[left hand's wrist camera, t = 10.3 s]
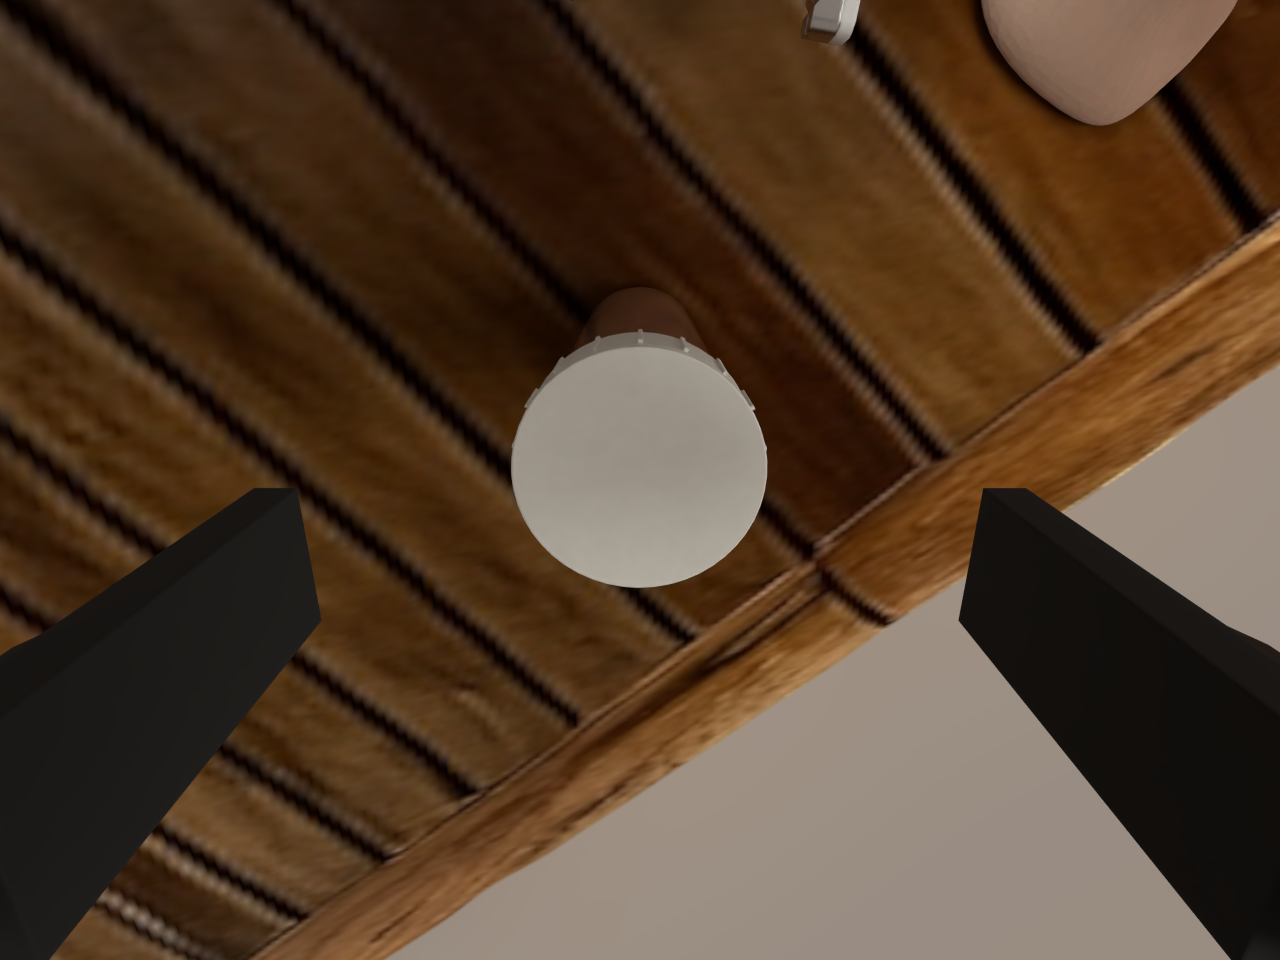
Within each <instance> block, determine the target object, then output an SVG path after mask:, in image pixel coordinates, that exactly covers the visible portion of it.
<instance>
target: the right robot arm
mask: <svg viewBox="0 0 1280 960" xmlns="http://www.w3.org/2000/svg"><path fill="white" fill-rule="evenodd" d="M573 1H574V0H573ZM859 4H860V0H807V1H806V7H807V10H808V14H807V15H806V17H805V18H804V19H803V22H802V27H801V36H800V37H801V38H802V39H807V40H812V41H818V42H823V43H828V44H833V45H842V44H843V43H845V42H846V41H847V40H848V39H849V38H850V36H851V33H852V31H853V28H854V25H855V22H856V18H857V13H858V8H859Z"/></svg>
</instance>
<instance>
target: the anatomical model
mask: <svg viewBox="0 0 1280 960" xmlns="http://www.w3.org/2000/svg"><path fill="white" fill-rule="evenodd" d="M1236 2H1237V0H981V3H982V9H983V14H984V19H985V21H986V24H987V27H988V30H989V33H990V35H991V37H992V39H993V41H994V42H995V44H996V46H997V48H998V49H999V51H1000V52H1001V54H1002V55H1003V57H1004V58H1005V60H1006V61H1007V63H1008V64H1009V65H1010V66H1011V67H1012V69H1013V70H1014V71H1015V72H1016V73H1017V74H1018V75H1019V76H1020V77H1021V79H1022V80H1023V81H1025V82H1026V83H1027V84H1028V85H1029V86H1030V87H1031V88H1032V89H1033V90H1035V91H1036V92H1037V93H1038V94H1039V95H1040V96H1041V97H1043V98H1044V99H1045V100H1047V101H1048V102H1049V103H1051V104H1052V105H1053V106H1055V107H1056V108H1057V109H1059V110H1060V111H1062V112H1064V113H1065V114H1067V115H1069V116H1070V117H1072V118H1074V119H1076V120H1079V121H1081V122H1083V123H1087V124H1091V125H1101V126H1102V125H1108V124H1112V123H1115V122H1117V121H1119V120H1121V119H1123V118H1125V117H1127V116H1128V115H1130V114H1132V113H1133V112H1134V111H1136V110H1137V109H1138V108H1139V107H1141V106H1142V105H1143V104H1145V103H1146V102H1147V101H1148V100H1150V99H1151V98H1152V97H1153V96H1154V95H1155V94H1156V93H1157V92H1158V91H1159V90H1160V89H1161V88H1162V87H1164V86H1165V85H1166V84H1167V83H1168V82H1169V81H1170V80H1171V79H1172V78H1173V77H1174V76H1175V75H1177V74H1178V73H1179V72H1180V71H1181V70H1182V69H1183V68H1184V67H1185V66H1186V65H1187V64H1188V63H1189V62H1190V61H1191V60H1192V59H1193V58H1194V57H1195V55H1196V54H1197V53H1198V52H1199V51H1200V50H1201V49H1202V48H1203V46H1204V45H1205V44H1206V43H1207V42H1208V40H1209V39H1210V38H1211V37H1212V36H1213V34H1214V33H1215V32H1216V31H1217V30H1218V28H1219V27H1220V26H1221V25H1222V23H1223V22H1224V21H1225V19H1226V18H1227V17H1228V15H1229V14H1230V12H1231V11H1232V9H1233V8H1234V6H1235V4H1236Z"/></svg>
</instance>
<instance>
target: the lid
mask: <svg viewBox="0 0 1280 960" xmlns="http://www.w3.org/2000/svg"><path fill="white" fill-rule="evenodd" d="M524 407H525V408H527V410H526V411H525V413H524V415H523V418H522V420H521V422H520V424H519V426H518V430H517V433H516V436H515V440H514V442H513V444H512V448H513V451H512V457H511V475H512V483H513V490H514V494H515V497H516V501H517V504H518V507H519V509H520V512H521V514H522V516H523V519H524V520H525V522H526V524H527V525H528V527H529V529H530V530H531V532H532V533H533V535H534V536H535V537H536V538H537V540H538V541H539V542H540V544H541V545H542V546H543V547H544V548H545V549H546V550H547V551H548V552H549V553H550V554H551V555H552V556H554V557H555V558H556V559H558V560H559V561H560V562H561V563H563V564H564V565H566V566H567V567H569V568H571V569H572V570H574V571H576V572H577V573H579V574H582V575H584V576H586V577H589V578H591V579H593V580H597V581H600V582H603V583H606V584H611V585H617V586H622V587H637V588H639V587H655V586H661V585H667V584H672V583H675V582H679V581H682V580H685V579H687V578H690V577H692V576H695V575H697V574H699V573H701V572H703V571H704V570H706V569H708V568H710V567H711V566H713V565H714V564H716V563H717V562H718V561H720V560H721V559H722V558H724V557H725V556H726V555H727V554H728V553H729V552H730V551H731V550H732V549H733V548H734V547H735V546H736V545H737V544H738V543H739V541H740V540H741V539H742V538H743V537H744V535H745V534H746V533H747V531H748V529H749V528H750V526H751V524H752V523H753V521H754V519H755V517H756V515H757V512H758V510H759V508H760V505H761V502H762V498H763V495H764V492H765V485H766V478H767V456H766V450H767V447H766V445H765V442H764V439H763V435H762V432H761V428H760V426H759V424H758V421H757V419H756V417H755V415H754V413H753V411H752V410H754V409H755V408H754V406H753V404H752V402H751V401H750V399H749V398H748V396H747V394H746V393H745V391H744V390H742V391H740V389H739V388H738V386H737V385H736V383H735V381H734V380H733V378H732V377H731V376H730V375H729V374H728V372H727V371H726V369H725V367H724V365H723V364H722V362H721V360H720V359H718V358H717V359H716V360H715V359H714V358H713V357H711V356H710V355H708V354H707V353H705V352H704V351H703V350H701V349H700V348H698V347H696V346H694V345H692V344H690V343H688V342H686V340H685V338H683V337H680V339H677V338H675V337H672V336H667V335H663V334H658V333H648V332H643V330H642V329H638V332H631V333H621V334H616V335H611V336H607V337H604V338H600V336H598V337H596V338H595V341H593V342H591V343H589V344H587V345H585V346H583V347H581V348H579V349H577V350H576V351H575V352H573V353H572V354H570V355H569V356H567V357H566V358H564V357H561V358H560V359H559V361H558V363H557V364H556V366H555V368H554V369H553V371H552V372H551V373H550V374H549V375H548V376H547V378H546V379H545V381H544V382H543V384H542V385H541V387H540V388H539V389H537V388H536V389H535V390H534V392H533V393H532V395H531V396H530V398H529V400H528V401H527V403H526V404H525V406H524Z"/></svg>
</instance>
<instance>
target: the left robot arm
mask: <svg viewBox="0 0 1280 960" xmlns="http://www.w3.org/2000/svg"><path fill="white" fill-rule="evenodd" d="M320 622H321V615H320V610H319V605H318V599H317V594H316V589H315V583H314V578H313V573H312V568H311V562H310V557H309V552H308V546H307V541H306V536H305V530H304V525H303V520H302V514H301V509H300V504H299V498H298V493H297V488H254V489H252V490H251V491H249V492H248V493H246V494H245V495H244V496H242V497H241V498H239V499H238V500H236V501H235V502H233V503H232V504H230V505H229V506H228V507H226V508H225V509H223V510H222V511H220V512H219V513H217V514H216V515H214V516H213V517H211V518H210V519H209V520H207V521H206V522H204V523H203V524H201V525H200V526H198V527H197V528H195V529H194V530H192V531H191V532H190V533H188V534H187V535H185V536H184V537H182V538H181V539H179V540H178V541H176V542H175V543H173V544H172V545H171V546H169V547H168V548H166V549H165V550H163V551H162V552H160V553H159V554H157V555H156V556H154V557H153V558H152V559H150V560H149V561H147V562H146V563H144V564H143V565H141V566H140V567H138V568H137V569H135V570H134V571H133V572H131V573H130V574H128V575H127V576H125V577H124V578H122V579H121V580H119V581H118V582H116V583H115V584H114V585H112V586H111V587H109V588H108V589H106V590H105V591H103V592H102V593H100V594H99V595H97V596H96V597H95V598H93V599H92V600H90V601H89V602H87V603H86V604H84V605H83V606H81V607H80V608H79V609H77V610H76V611H74V612H73V613H71V614H70V615H68V616H67V617H65V618H64V619H62V620H61V621H60V622H58V623H57V624H55V625H54V626H52V627H51V628H49V629H48V630H46V631H45V632H43V633H42V634H41V635H39V636H37V637H35V638H32V639H30V640H28V641H26V642H24V643H21V644H19V645H17V646H15V647H13V648H11V649H10V650H8V651H7V652H5V653H4V654H2V655H1V656H0V960H49V959H50V958H51V956H52V955H53V954H54V953H55V952H56V950H57V949H58V948H59V947H60V945H61V944H62V943H63V942H64V940H65V939H66V938H67V937H68V935H69V934H70V933H71V932H72V930H73V929H74V928H75V927H76V925H77V924H78V923H79V922H80V920H81V919H82V918H83V917H84V915H85V914H86V913H87V912H88V910H89V909H90V908H91V907H92V905H93V904H94V903H95V902H96V900H97V899H98V898H99V897H100V896H101V894H102V893H103V892H104V891H105V889H106V888H107V887H108V886H109V884H110V883H111V882H112V881H113V879H114V878H115V877H116V876H117V874H118V873H119V872H120V871H121V869H122V868H123V867H124V866H125V864H126V863H127V862H128V861H129V859H130V858H131V857H132V856H133V854H134V853H135V852H136V851H137V849H138V848H139V847H140V846H141V844H142V843H143V842H144V841H145V840H146V838H147V837H148V836H149V835H150V833H151V832H152V831H153V830H154V828H155V827H156V826H157V825H158V823H159V822H160V821H161V820H162V818H163V817H164V816H165V815H166V813H167V812H168V811H169V810H170V808H171V807H172V806H173V805H174V803H175V802H176V801H177V800H178V798H179V797H180V796H181V795H182V793H183V792H184V791H185V790H186V788H187V787H188V786H189V785H190V784H191V782H192V781H193V780H194V779H195V777H196V776H197V775H198V774H199V772H200V771H201V770H202V769H203V767H204V766H205V765H206V764H207V762H208V761H209V760H210V759H211V757H212V756H213V755H214V754H215V752H216V751H217V750H218V749H219V747H220V746H221V745H222V744H223V742H224V741H225V740H226V739H227V737H228V736H229V735H230V734H231V732H232V731H233V730H234V729H235V728H236V726H237V725H238V724H239V723H240V721H241V720H242V719H243V718H244V716H245V715H246V714H247V713H248V711H249V710H250V709H251V708H252V706H253V705H254V704H255V703H256V701H257V700H258V699H259V698H260V696H261V695H262V694H263V693H264V691H265V690H266V689H267V688H268V686H269V685H270V684H271V683H272V681H273V680H274V679H275V678H276V676H277V675H278V674H279V673H280V672H281V670H282V669H283V668H284V667H285V665H286V664H287V663H288V662H289V660H290V659H291V658H292V657H293V655H294V654H295V653H296V652H297V650H298V649H299V648H300V647H301V645H302V644H303V643H304V642H305V640H306V639H307V638H308V637H309V635H310V634H311V633H312V632H313V630H314V629H315V628H316V627H317V625H318V624H319V623H320ZM959 622H960V623H961V624H962V625H963V627H964V628H965V629H966V630H967V632H968V633H969V634H970V635H971V637H972V638H973V639H974V640H975V642H976V643H977V644H978V645H979V647H980V648H981V649H982V650H983V652H984V653H985V654H986V655H987V657H988V658H989V659H990V660H991V661H992V663H993V664H994V665H995V667H996V668H997V669H998V670H999V672H1000V673H1001V674H1002V675H1003V676H1004V678H1005V679H1006V680H1007V681H1008V683H1009V684H1010V685H1011V686H1012V688H1013V689H1014V690H1015V691H1016V693H1017V694H1018V695H1019V696H1020V698H1021V699H1022V700H1023V701H1024V703H1025V704H1026V705H1027V706H1028V708H1029V709H1030V710H1031V711H1032V712H1033V714H1034V715H1035V716H1036V718H1037V719H1038V720H1039V721H1040V722H1041V724H1042V725H1043V726H1044V728H1045V729H1046V730H1047V731H1048V732H1049V734H1050V735H1051V736H1052V737H1053V739H1054V740H1055V741H1056V742H1057V744H1058V745H1059V746H1060V747H1061V749H1062V750H1063V751H1064V752H1065V754H1066V755H1067V756H1068V757H1069V759H1070V760H1071V761H1072V762H1073V764H1074V765H1075V766H1076V767H1077V769H1078V770H1079V771H1080V772H1081V774H1082V775H1083V776H1084V777H1085V779H1086V780H1087V781H1088V782H1089V784H1090V785H1091V786H1092V787H1093V788H1094V790H1095V791H1096V792H1097V793H1098V795H1099V796H1100V797H1101V798H1102V800H1103V801H1104V802H1105V803H1106V805H1107V806H1108V807H1109V808H1110V810H1111V811H1112V812H1113V813H1114V815H1115V816H1116V817H1117V818H1118V820H1119V821H1120V822H1121V823H1122V825H1123V826H1124V827H1125V828H1126V830H1127V831H1128V832H1129V833H1130V835H1131V836H1132V837H1133V838H1134V840H1135V841H1136V842H1137V843H1138V844H1139V846H1140V847H1141V848H1142V849H1143V851H1144V852H1145V853H1146V854H1147V856H1148V857H1149V858H1150V859H1151V861H1152V862H1153V863H1154V864H1155V866H1156V867H1157V868H1158V869H1159V871H1160V872H1161V873H1162V874H1163V876H1164V877H1165V878H1166V879H1167V881H1168V882H1169V883H1170V884H1171V885H1172V887H1173V888H1174V889H1175V891H1176V892H1177V893H1178V894H1179V896H1180V897H1181V898H1182V899H1183V900H1184V902H1185V903H1186V904H1187V905H1188V907H1189V908H1190V909H1191V910H1192V912H1193V913H1194V914H1195V915H1196V917H1197V918H1198V919H1199V920H1200V922H1201V923H1202V924H1203V925H1204V927H1205V928H1206V929H1207V930H1208V932H1209V933H1210V934H1211V935H1212V937H1213V938H1214V939H1215V940H1216V942H1217V943H1218V944H1219V945H1220V947H1221V948H1222V949H1223V950H1224V952H1225V953H1226V954H1227V955H1228V956H1229V958H1230V959H1231V960H1280V652H1278V651H1277V650H1275V649H1274V648H1272V647H1271V646H1269V645H1268V644H1265V643H1263V642H1261V641H1259V640H1257V639H1254V638H1252V637H1250V636H1248V635H1246V634H1243V633H1241V632H1239V631H1237V630H1235V629H1232V628H1230V627H1228V626H1226V625H1225V624H1223V623H1222V622H1220V621H1219V620H1218V619H1216V618H1215V617H1213V616H1212V615H1210V614H1209V613H1207V612H1206V611H1204V610H1203V609H1202V608H1200V607H1199V606H1197V605H1196V604H1194V603H1193V602H1191V601H1190V600H1188V599H1187V598H1185V597H1184V596H1183V595H1181V594H1180V593H1178V592H1177V591H1175V590H1174V589H1172V588H1171V587H1169V586H1168V585H1166V584H1165V583H1163V582H1162V581H1161V580H1159V579H1158V578H1156V577H1155V576H1153V575H1152V574H1150V573H1149V572H1147V571H1146V570H1144V569H1143V568H1142V567H1140V566H1139V565H1137V564H1136V563H1134V562H1133V561H1131V560H1130V559H1128V558H1127V557H1126V556H1124V555H1123V554H1121V553H1120V552H1118V551H1117V550H1115V549H1114V548H1112V547H1111V546H1109V545H1108V544H1107V543H1105V542H1104V541H1102V540H1101V539H1099V538H1098V537H1096V536H1095V535H1093V534H1092V533H1090V532H1089V531H1088V530H1086V529H1085V528H1083V527H1082V526H1080V525H1079V524H1077V523H1076V522H1074V521H1073V520H1071V519H1070V518H1069V517H1067V516H1066V515H1064V514H1063V513H1061V512H1060V511H1058V510H1057V509H1055V508H1054V507H1053V506H1051V505H1050V504H1048V503H1047V502H1045V501H1044V500H1042V499H1041V498H1039V497H1038V496H1036V495H1035V494H1034V493H1032V492H1031V491H1029V490H1028V489H1026V488H983V493H982V498H981V504H980V509H979V514H978V520H977V525H976V530H975V536H974V541H973V546H972V552H971V557H970V562H969V568H968V573H967V578H966V584H965V589H964V594H963V600H962V605H961V610H960V616H959Z"/></svg>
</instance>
